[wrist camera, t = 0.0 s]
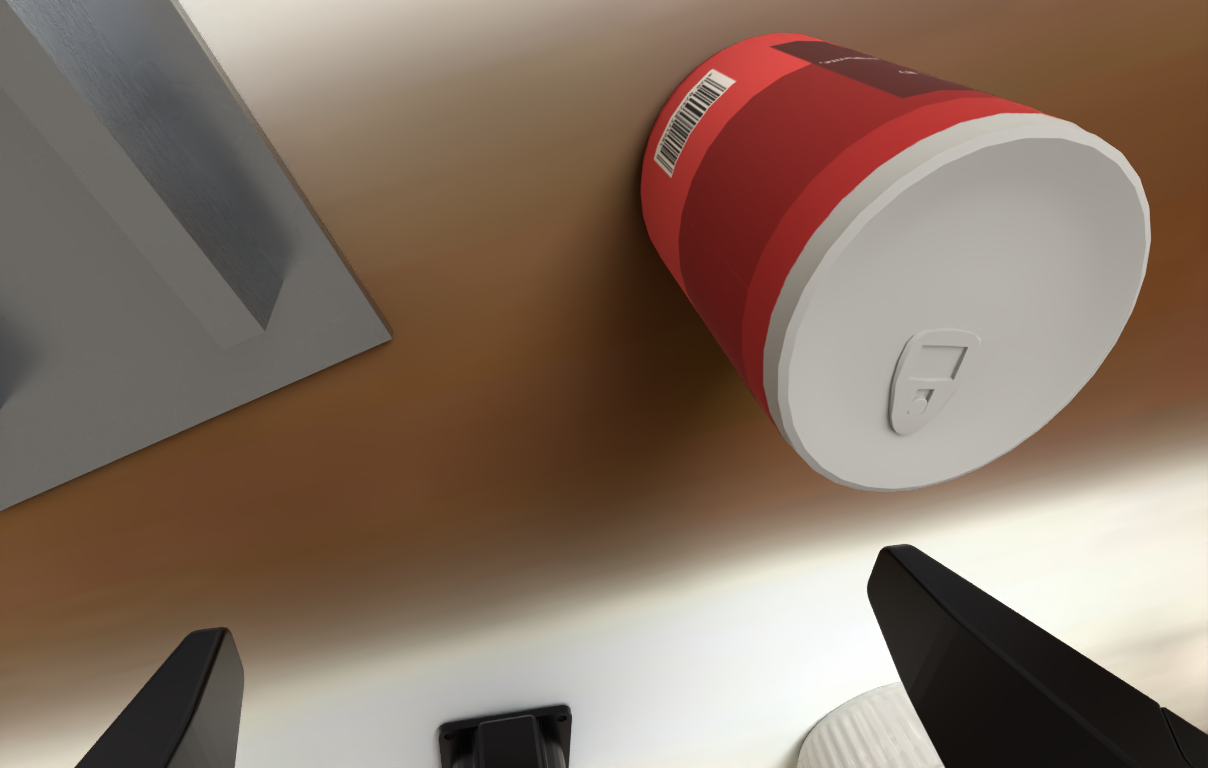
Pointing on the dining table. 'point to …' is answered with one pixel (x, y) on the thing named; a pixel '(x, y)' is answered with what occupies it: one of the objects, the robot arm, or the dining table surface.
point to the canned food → (891, 253)
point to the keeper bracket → (145, 243)
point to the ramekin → (871, 734)
